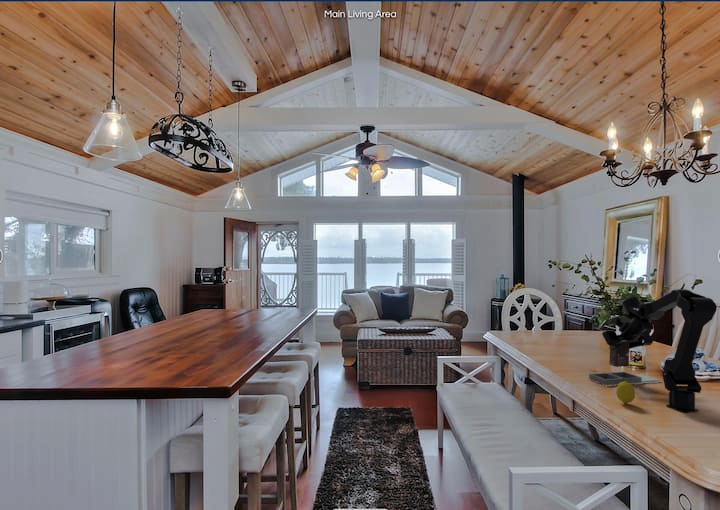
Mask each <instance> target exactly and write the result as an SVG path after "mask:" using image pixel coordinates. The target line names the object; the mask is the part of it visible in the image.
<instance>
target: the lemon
mask: <svg viewBox="0 0 720 510" xmlns="http://www.w3.org/2000/svg"><path fill="white" fill-rule="evenodd" d="M635 391H636V390H635V388H634V385H631V384H630V383H628V382H627V381H624V382H621V383H619V384H618V386H616V390H615V392H616V397H617V398H618V400H620V401H621V402H622V403H623V404H625V405H627V404H629V403H631V402H633V401H634V400H635V397H636V392H635Z"/></svg>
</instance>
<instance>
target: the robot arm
mask: <svg viewBox="0 0 720 510" xmlns="http://www.w3.org/2000/svg"><path fill="white" fill-rule="evenodd" d="M621 305H622V307H623V309H624V311H625V313H626V315H627V316H624V315H623V316H614V317H613V318H611V324H612V325H614V326H616V327H618V331H619V333H620V334H617V333H616V331H615V330H612V329H606V330H605V329H604V330H603V331H602V333H601V335H602V337H603V339H604V340H605V342H606V344H607V345H608V347H609V351H610V350H613V349H615V348H617V347H620V346H621V345H620V344H619V343H620V342H621V341H627V342H630V345H629V350H630V349H636V348H639V347H644V346H651V345H652V344H653V343H654V339H653V338H652V335H650V333H649V331H648V330H653V331H654V330H655V327H654V322H653V321H651V320H659V319H660V318H663V316H665V312H666V311H668V310H670V309H673V308H675V307H678V308H679V309H681V311H680V312H681V316H682V318H683V320H684V322H683V326H682V330H681V333H680V337H679V340H678V344H677V347H676V350H675V353H674V356H673V358H672V359H665V361H664V364H663V365H664V366H663V367H662V370H663V371H662V374H661V375H662V379H663V384H664V388H665V389H666V391H668V393H669V394H668V404H665V406H666V407H667V408H670V409H672V410H675V411H678V412H681V413H685V414H686V413H696V412H699V411H700V410H699V409H698V408H696V393H698V394H700V393H701V391H702V386H701V384H700V382H699V381H698V379H697V378H696V370H695V367H694V365H693V361H694V358H695V355H696V352H697V348H698V345H699V341H700V338H701V336H702V332H703V328H704V327H705V325H707V324H708V323H710V322H711V321H712V320H713V318H714V317H715V314H716V312H717V304H716V302H714V300H713V299H712V298H710V297H706V296H704V295H701V294H698V293H695V292H693V291H691V290H689V289H686V288H684V289H682V288H681V289H680V288H679V289H677V288H676V289H675V288H674V289H673V290H671V291H670V292H668V293H667V294H665V295H662V296H661V297H659V298H657V299H655V300H653V301H650V302H643V303H640V301H639V299H638V297H637V296H631V297H630V298H627V299H625V300H623V301H622V303H621ZM629 318H632V319H629Z"/></svg>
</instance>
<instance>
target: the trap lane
mask: <svg viewBox="0 0 720 510" xmlns="http://www.w3.org/2000/svg"><path fill="white" fill-rule="evenodd" d="M588 375H589V378H588V380H589V381H593V382H594V381H595V383H597V382H598V383H597V384H600V383H601V384H600V385H602V384H604V385H603V386H605V385H607V386H606V387H610V386H609V385H618V384H619V383H621V382H624V381H627V382H628V383H630V384H635V385H643V383H649V384H660V383H659V382H663V381H662V380H660V379H658V378H654V377H652V376H648V375H646V374H643V373H639V374H638V373H637V374H636V373H635V374H633V373H628V372H626V371H616V372H600V373H599V372H598V373H589V374H588Z"/></svg>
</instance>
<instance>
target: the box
mask: <svg viewBox="0 0 720 510" xmlns="http://www.w3.org/2000/svg"><path fill="white" fill-rule="evenodd" d="M619 344H620V345H621V346H620V347H617V348H615V349H613V350H610V349H609V365H610V366H612V367H616V368H618V367H620V368H621V367H629V366H630V365H629V364H630V349H629V345H630V342H627V341H621V342H620V343H619Z"/></svg>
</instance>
